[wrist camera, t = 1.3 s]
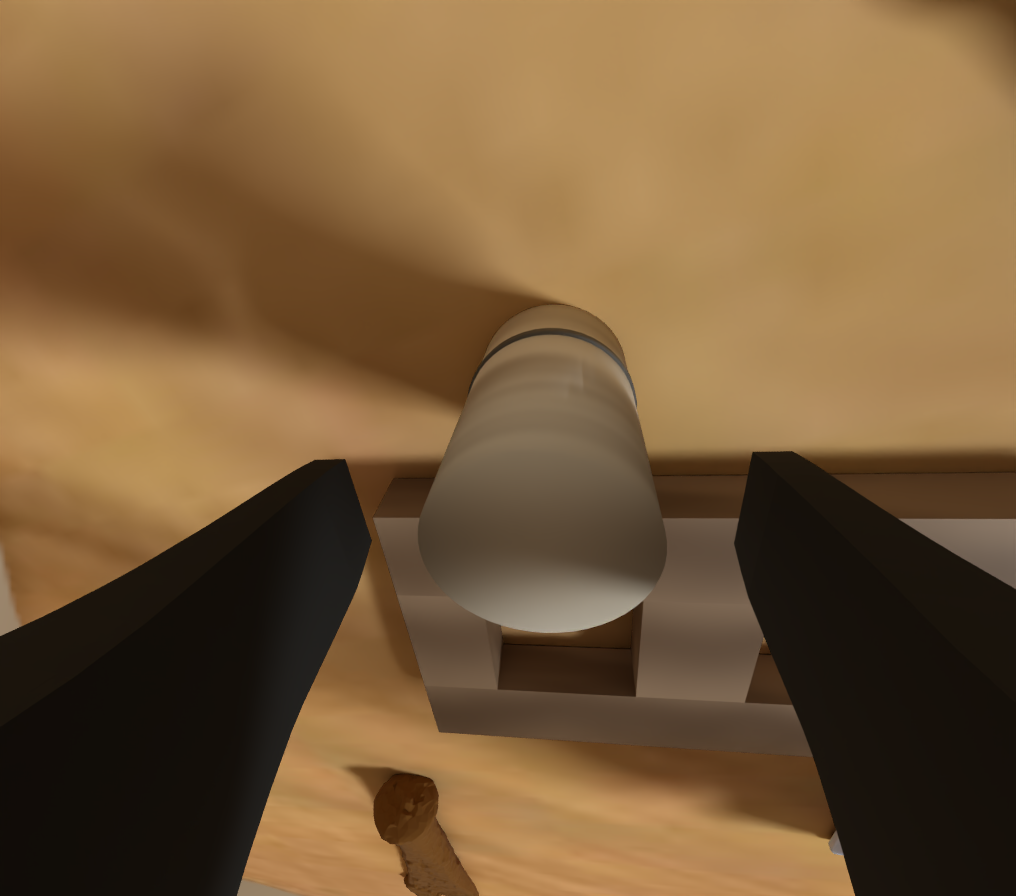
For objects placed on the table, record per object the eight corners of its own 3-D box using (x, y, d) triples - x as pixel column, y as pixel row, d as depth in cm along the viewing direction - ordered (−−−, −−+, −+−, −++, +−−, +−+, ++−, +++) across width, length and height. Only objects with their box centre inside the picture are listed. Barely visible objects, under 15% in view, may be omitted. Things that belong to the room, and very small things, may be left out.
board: (927, 713, 20) (960, 767, 18) (448, 688, 23) (439, 732, 21) (1084, 471, 14) (1156, 519, 12) (393, 478, 16) (372, 517, 15)
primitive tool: (481, 890, 38) (472, 953, 35) (413, 881, 39) (399, 942, 36) (443, 766, 28) (427, 840, 25) (353, 757, 29) (327, 828, 26)
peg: (625, 435, 15) (660, 638, 9) (489, 439, 15) (437, 630, 9) (630, 297, 12) (682, 442, 7) (472, 307, 13) (389, 449, 7)
